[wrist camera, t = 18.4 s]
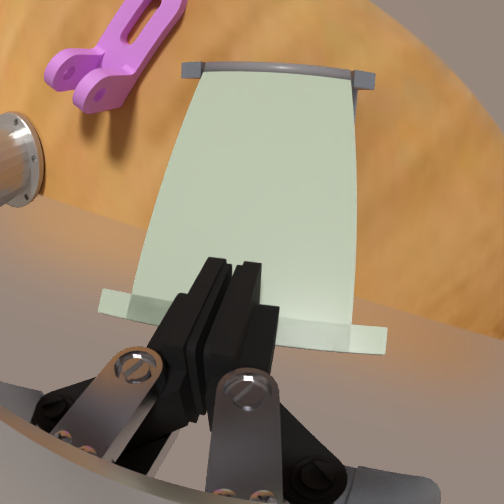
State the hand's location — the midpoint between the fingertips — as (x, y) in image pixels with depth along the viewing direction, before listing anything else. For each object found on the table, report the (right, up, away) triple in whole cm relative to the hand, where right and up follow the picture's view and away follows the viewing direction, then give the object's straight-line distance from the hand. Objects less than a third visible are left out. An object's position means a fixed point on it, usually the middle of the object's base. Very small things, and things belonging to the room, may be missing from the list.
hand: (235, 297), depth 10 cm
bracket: (-10, +21, +12) cm, 27 cm away
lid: (+1, +5, +4) cm, 7 cm away
